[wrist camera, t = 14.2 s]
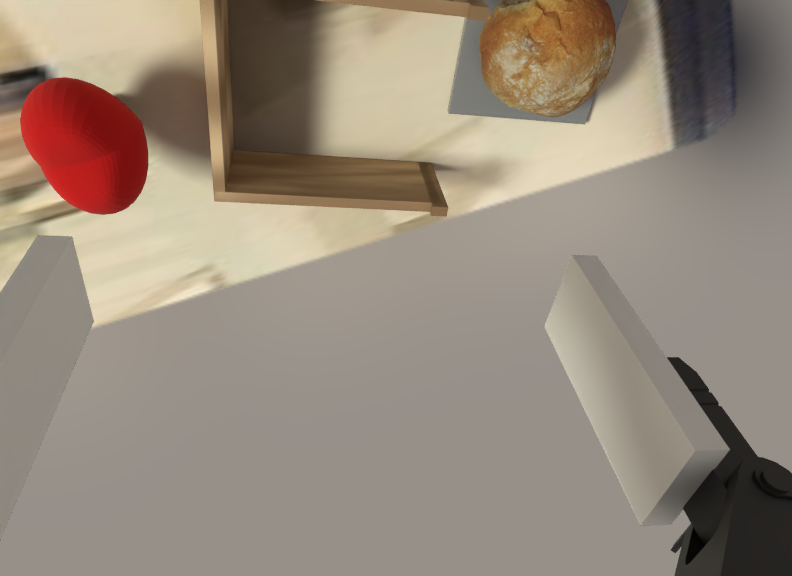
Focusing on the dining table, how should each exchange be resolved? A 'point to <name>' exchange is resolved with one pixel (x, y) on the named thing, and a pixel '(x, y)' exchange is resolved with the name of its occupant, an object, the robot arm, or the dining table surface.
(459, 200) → the dining table surface
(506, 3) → the bread roll
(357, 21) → the dining table surface
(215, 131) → the box
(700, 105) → the dining table surface
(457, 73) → the slate board
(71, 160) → the red heart shape
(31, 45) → the dining table surface
